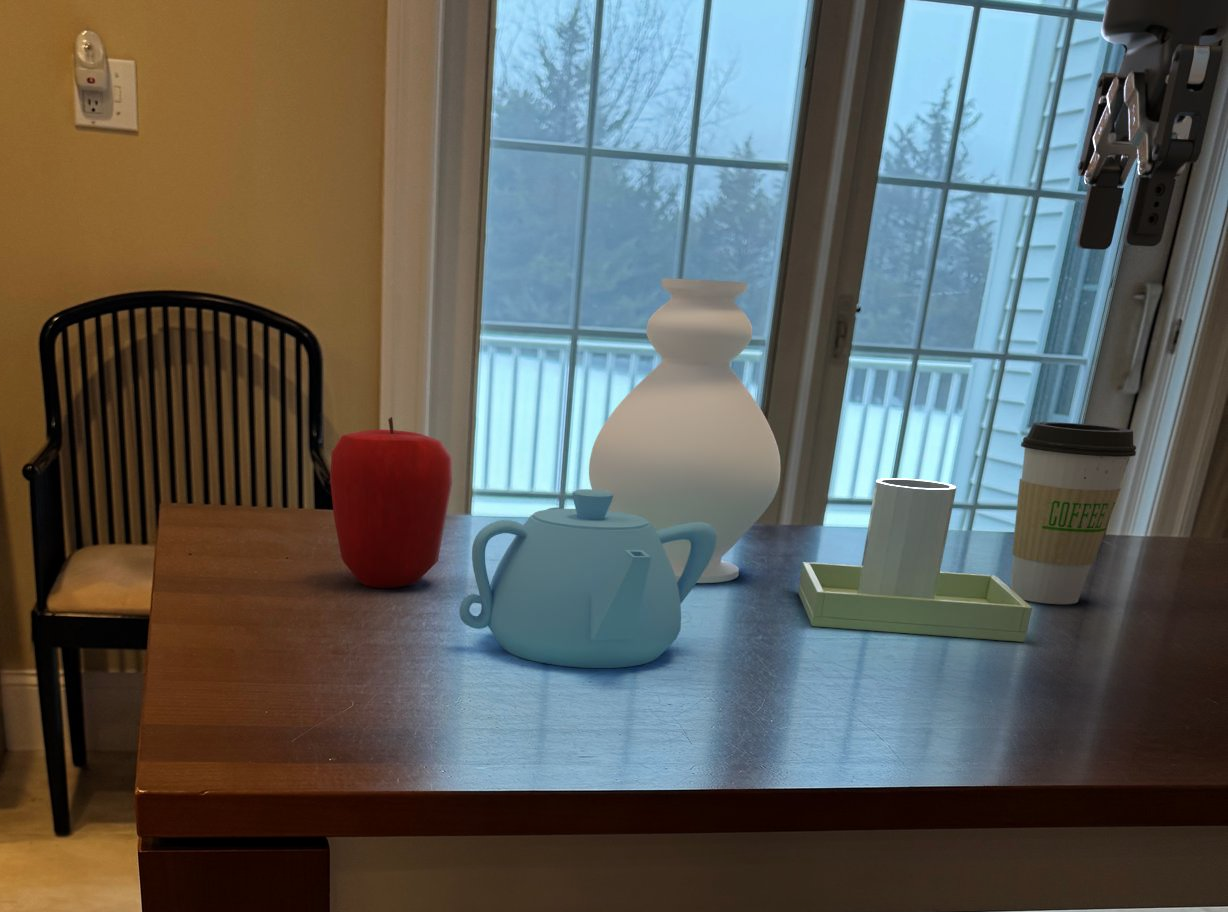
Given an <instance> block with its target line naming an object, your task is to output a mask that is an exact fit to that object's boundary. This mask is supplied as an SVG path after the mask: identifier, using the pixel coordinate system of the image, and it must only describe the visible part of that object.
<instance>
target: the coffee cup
mask: <svg viewBox="0 0 1228 912" xmlns="http://www.w3.org/2000/svg"><path fill="white" fill-rule="evenodd" d="M1020 446H1021V448H1024V451H1023V462H1022V471H1021V472H1022V473H1021V478H1020V479H1019V481H1018V493H1017V502H1016V512H1015V521H1014V533H1013V543H1012V551H1011V552H1012V553H1011V554H1012V565H1011V576H1010V585H1009V588H1010V589H1012V590H1013V591H1014V592H1015V593H1016V594H1017V595H1018V596H1020V597H1021V598H1022V599H1023V600H1024V601H1026V602H1033V603H1040V604H1047V605H1073V604H1077V603H1079V600H1080V597H1081V594H1082V592H1083V589H1084V586H1085V583H1086V581H1087V578H1088V575H1089V572H1090V570H1091V567H1092V564H1094V563H1095V560H1096V558H1097V554H1098V552H1099V549H1100V547H1101V544H1102V541H1103V538H1104V535H1105V533H1106V531H1107V527H1108V525H1109V522H1110V519H1111V516H1112V514H1113V510H1114V508H1115V506H1116V502H1117V499H1118V497H1119V495H1120V492H1121V489H1122V488H1121V487H1120V486H1121V483H1122V480H1123V478H1124V475H1125V472H1126V470H1127V466H1128V464H1129V461H1130V458H1131V457H1135V456H1136V455H1137V454H1136V453H1137V451H1136V450H1137V446H1136V445H1134V430H1132V429H1128V428H1123V427H1115V426H1109V425H1108V426H1107V425H1101V424H1100V425H1099V424H1087V423H1075V422H1058V421H1057V422H1055V421H1039V422H1033V423H1032V425H1031V427H1030V429H1029V432H1028V434H1027V436H1024V437H1023V439H1022V442H1021V443H1020Z"/></svg>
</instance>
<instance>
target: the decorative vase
mask: <svg viewBox="0 0 1228 912" xmlns="http://www.w3.org/2000/svg"><path fill="white" fill-rule="evenodd" d="M747 288H748V282H745V281H743V282H742V281H729V280H728V281H727V280H711V279H710V280H709V279H691V278H673V277H672V278H670V277H669V278H668V277H662V278H661V289H663V290H665V291H666V292H668V293H669V294H670V299H669V300H668V301H666V302H664V304H662V305H661V306H659V308H658V309H656V310H655V311H654V312H653V314H652V315H651V316H650V317H649V319H648V320H647V321H648V322H647V324H646V330H645V331H646V337H647V339H648V341H649V343H650V345H651V346H652V347H653V349H654V351H655V352H656V353H657V354H658V355H659V356H660V357H661V362H660V363H659V364H658V365H656V367H655V368H654V369H652V370H651V372H649V373H648V374H647V375H646V376H645V377H644V378H643V379H642V380H641V381H640V382H639V383H638V384H636V386H635V387H634V388H632V389H631V390H630V392H629V393H628V394H626V396H625V397H624V398H623V399H622V400H621V402H619V404H618V405H617V406H616V408H615V409H614V410H613V411H612V412H611V414H610V415H609V417H608V418H607V420H606V421H605V422H604V424H603V425H602V427H601V429H599V432H598V434H597V436H596V438H595V440H594V443H593V446H592V449H591V453H590V457H589V464H588V478H589V479H588V480H589V484H590V489H592V490H602V491H607V492H610V493H612V494H613V498H612V502H611V504H610V506H609V508H608V511H613V512H621V513H627V514H632V515H636V516H640V517H643V518H645V519H647V520H648V521H649V522H650V523H651V525H652V526H653V528H654V530H655V531H657V530H661V529H664V528H668V527H671V526H675V525H680V524H685V523H692V522H702V523H707V524H709V525H711V526H712V527H713V528H714V529H715V531H716V535H717V539H716V545H715V549H714V552H713V555H712V557H711V560H710V562H709V564H708V566H707V567H706V569H705V570H704V572H703V574H702V575H701V577H700V578H699V580H698V581H697V582H696V584H712V583H713V584H714V583H723V582H729V581H732V580H735V579H737V578H738V577H739V573H740V568H739V567H738V566H737V565H736V564H734V563H732V562H729V561H726V560H723V559H722V558H723V557H724V556H725V555H726V554H727V553H728V552H729V551H730V550H731V549H732V548H733V547H734V546H735V545H736V544H737V543H738V542H739V541H740V540H741V538H743V536H744V535H745V534H746V533H748V531H749V530H750V529H751V528H752V527H753V526H754V525H755V524H756V523H757V521H758V520H759V519H760V518H761V517H762V515H763V514H765V512H766V511H767V509H768V508H769V507H770V505H771V504H772V502H773V500H774V499H775V497H776V495H777V492H778V489H779V485H780V480H781V456H780V450H779V446H778V444H777V440H776V438H775V435H774V432H773V431H772V428H771V426H770V423H769V422H768V419H767V417H766V416H765V414H764V412H763V411H762V409H761V407H760V406H759V404H758V403H757V402H756V400H755V398H754V397H753V396H752V394H751V392H750V391H749V390H748V388H747V387H746V385H745V384H744V383H743V382H742V380H741V379H740V377H738V375H737V374H736V373H735V371H734V370H733V368H732V367H731V361H733V360H735V359H736V358H737V357H738V356H739V355H740V354H741V353H743V351H745V349H746V348H747V347H748V346H749V345H750V343H751V341H752V337H753V326H752V323H751V321H750V318H749V317H748V316H747V314H746V313H745V312H744V311H743V309H741V308H740V307H739V306H738V305H737V304H736V303H735V301H736V298H737V297H739V296H741V295H743V294H745V293H747ZM662 545H663V548H664V550H665V552H666V554H667V556H668V559H669V561H670V563H671V566H672V569H673V571H674V574H675V577H676V581H677V582H678V580H679V578H680V576H681V575H682V573H683V570H684V568H685V565H686V563H687V560H688V557H689V554H690V549H691V543H690V541H689V540H686V539H680V540H674V541H670V542H666V543H663V544H662Z"/></svg>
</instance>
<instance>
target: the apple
mask: <svg viewBox="0 0 1228 912" xmlns="http://www.w3.org/2000/svg"><path fill="white" fill-rule="evenodd" d="M387 420H388V425H389V426H388V427H389V429H367V430H359V431H355V432H350V433H346V434H343V435H341V436H340V438H339V439H338V441H337V443H336V445H335V446H334V447H333V449H332V451H331V460H330V474H329V481H330V483H329V484H330V491H331V501H332V509H333V510H332V511H333V520H334V523H335V524H334V525H335V531H336V536H337V540H338V546H339V552H340V557H341V560H342V562H343V563H344V565H345V566H346V567H347V568H348V570H349V571H350V572H351V573H352V575H353V576H354V577H355V579H356V580H357V582H358V583H360V584H361V585H364V586H367V587H371V588H376V589H390V588H391V589H392V588H393V589H394V588H400V587H406V586H412V585H414V584H416V583H418V582H419V581H420V580H421V579H422V578H423V577H424V576H425V575H426V574H427V573H428V572H429V571H430V570H431V569H432V568H433V567H434V566H435V565H436V564H437V563H438V562H439V557H440V552H441V544H442V540H443V534H444V529H445V522H446V518H447V512H448V507H449V503H450V497H451V492H452V487H453V465H452V456H451V455H450V452H448V450H447V449H446V447H445V446H444V444H443V443H442V441H441V440H439V439H436V438H433V437H431V436H428V435H425V434H423V433H418V432H414V431H406V430H396V429H394V422H393V416H390V417H389V418H388V419H387Z"/></svg>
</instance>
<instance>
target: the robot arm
mask: <svg viewBox="0 0 1228 912" xmlns="http://www.w3.org/2000/svg"><path fill="white" fill-rule="evenodd" d="M1102 18H1103V19H1102V22H1101V28H1100V33H1101V36H1102V38H1103V39H1104V40H1105V41H1107V42H1108V43H1111V44H1114V45H1118V44H1121V45H1122V46H1123V48H1124V55H1123V56H1122V60H1121V63H1120V65H1119V66H1120V67H1119V69H1118V72H1102V73H1100V75H1099V78H1098V80H1097V82H1096V88H1095V92H1094V97H1093V101H1092V105H1091V110H1090V114H1089V118H1088V122H1087V127H1086V131H1085V136H1084V141H1083V145H1082V149H1081V153H1080V157H1079V161H1078V165H1077V176H1078V177H1084V184H1085V185H1086V186H1087V185H1088V186H1087V190H1086V193H1085V199H1084V203H1083V208H1082V213H1081V217H1080V222H1079V225H1078V226H1079V227H1078V231H1077V235H1076V240H1075V243H1076V244H1075V245H1076V247H1077V248H1078V249H1081V250H1094V251H1095V250H1097V251H1100V250H1102V251H1103V250H1107V249H1109V248H1110V246H1111V245H1112V243H1113V239H1114V236H1115V235H1114V234H1115V230H1116V225H1117V221H1118V217H1119V212H1120V208H1121V204H1122V199H1123V195H1124V192H1125V191H1124V190H1125V187H1123V186H1124V185H1125V183H1126V181H1127V179H1128V177H1129V174H1130V172H1131V170H1132V168H1133V166H1134V163H1135V161H1136V160H1137V174H1138V176H1140V177H1136V178H1135V182H1134V186H1133V191H1132V196H1131V200H1130V203H1129V209H1128V213H1127V218H1126V223H1125V226H1124V230H1123V234H1122V242H1123V243H1124V245H1126V246H1129V247H1130V246H1132V247H1155V246H1157V245H1159V244H1160V242H1161V241H1162V239H1163V235H1164V232H1165V226H1166V222H1167V219H1168V213H1169V210H1170V207H1171V202H1172V198H1173V193H1174V190H1175V185H1176V182H1177V179H1176V178H1180V177H1181V176H1182V175H1183V173H1184V172H1185V169H1186V166H1187V164H1195V163H1196V162H1197V161H1198V160H1199V157H1200V155H1201V153H1202V147H1203V143H1204V138H1205V134H1206V130H1207V126H1208V121H1209V117H1210V112H1211V109H1212V103H1213V99H1214V95H1215V91H1216V85H1217V82H1218V78H1219V77H1218V76H1219V73H1220V67H1221V63H1222V59H1223V54H1224V47H1223V46H1221V45H1210V44H1213V43H1217V42H1219V41H1221V40H1223V39H1224V38H1226V36H1228V0H1106V4H1105V8H1104V14H1103V17H1102ZM1142 176H1143V177H1142Z"/></svg>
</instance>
